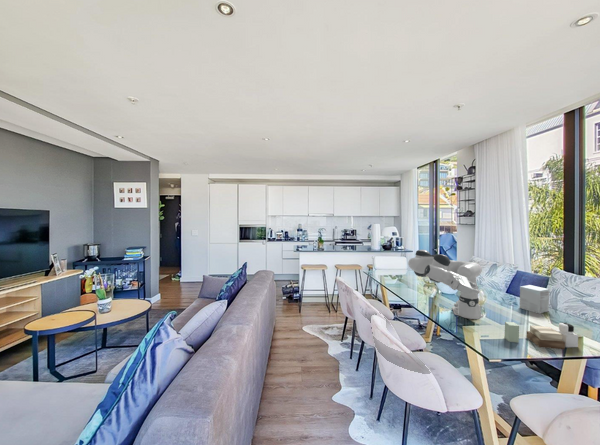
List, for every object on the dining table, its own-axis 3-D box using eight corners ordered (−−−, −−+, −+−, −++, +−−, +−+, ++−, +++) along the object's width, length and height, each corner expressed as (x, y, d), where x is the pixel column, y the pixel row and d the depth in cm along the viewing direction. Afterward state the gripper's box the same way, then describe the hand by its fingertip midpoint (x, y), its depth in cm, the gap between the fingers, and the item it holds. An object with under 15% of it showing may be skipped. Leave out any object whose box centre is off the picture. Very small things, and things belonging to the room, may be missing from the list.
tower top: (529, 331, 161) (530, 325, 161) (549, 333, 159) (549, 326, 159) (541, 339, 151) (541, 332, 151) (561, 341, 149) (562, 334, 149)
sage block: (504, 337, 162) (504, 321, 162) (513, 338, 161) (514, 322, 160) (508, 341, 157) (509, 325, 157) (518, 342, 156) (519, 325, 156)
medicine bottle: (565, 341, 158) (566, 321, 157) (578, 347, 151) (579, 326, 150) (553, 341, 157) (554, 321, 157) (566, 347, 150) (566, 326, 150)
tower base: (526, 338, 162) (526, 330, 162) (549, 340, 160) (549, 332, 160) (539, 347, 151) (539, 340, 151) (564, 350, 148) (564, 342, 148)
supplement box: (549, 311, 204) (550, 289, 203) (539, 313, 199) (539, 290, 199) (529, 305, 217) (529, 284, 216) (518, 307, 212) (519, 286, 211)
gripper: (448, 278, 175) (471, 286, 171) (452, 290, 156) (478, 300, 152) (452, 269, 173) (475, 278, 169) (457, 281, 155) (483, 291, 150)
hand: (477, 288), depth 160 cm, fingers open, 8 cm apart
